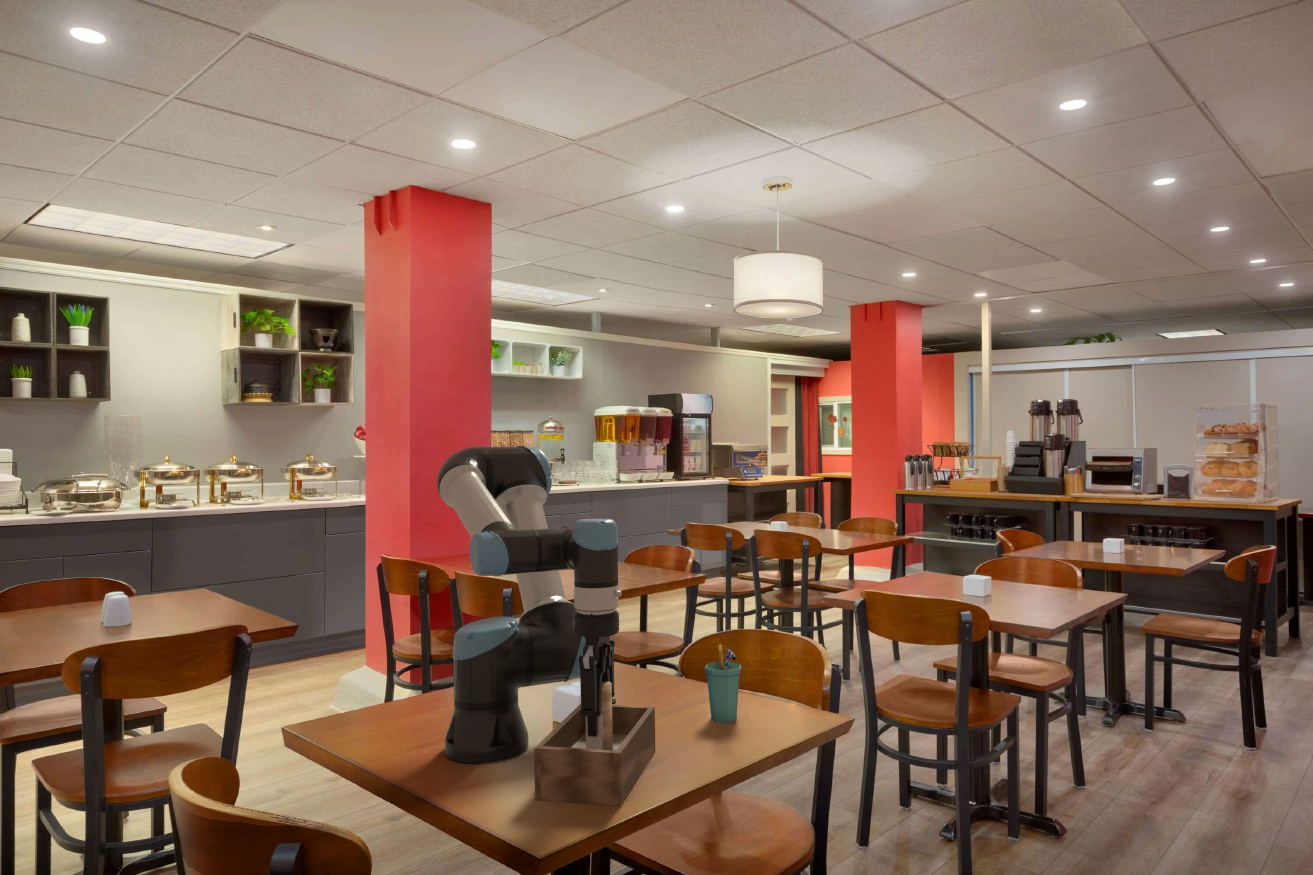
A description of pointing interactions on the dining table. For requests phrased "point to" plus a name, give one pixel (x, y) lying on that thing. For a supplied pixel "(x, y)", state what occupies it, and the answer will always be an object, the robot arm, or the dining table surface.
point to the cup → (723, 687)
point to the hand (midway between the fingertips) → (599, 748)
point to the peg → (607, 714)
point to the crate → (594, 758)
